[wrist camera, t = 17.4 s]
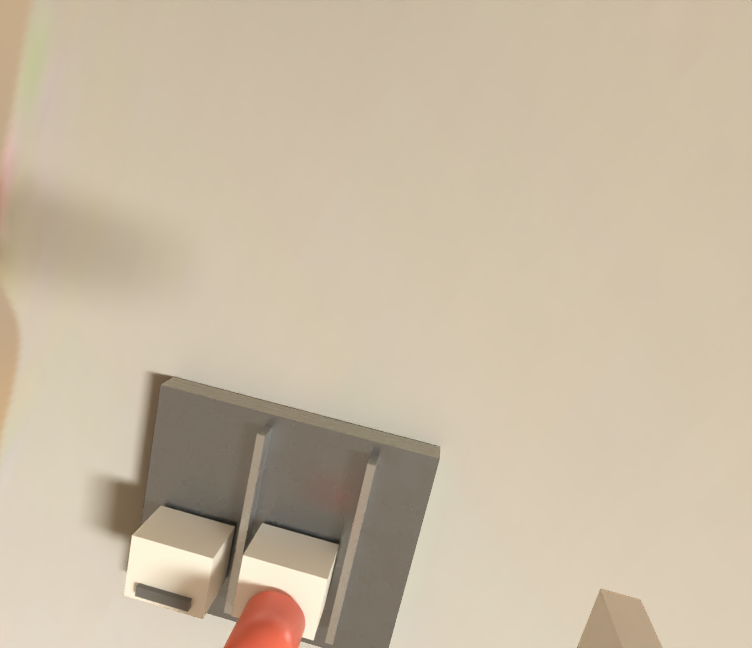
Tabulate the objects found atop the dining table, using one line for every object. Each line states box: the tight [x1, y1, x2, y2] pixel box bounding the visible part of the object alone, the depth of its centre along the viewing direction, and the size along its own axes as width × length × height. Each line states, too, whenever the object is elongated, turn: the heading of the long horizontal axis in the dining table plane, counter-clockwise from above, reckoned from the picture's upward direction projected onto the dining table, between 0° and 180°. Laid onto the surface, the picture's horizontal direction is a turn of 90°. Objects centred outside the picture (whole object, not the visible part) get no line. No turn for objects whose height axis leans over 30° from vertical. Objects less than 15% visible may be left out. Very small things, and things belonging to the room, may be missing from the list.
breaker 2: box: [232, 523, 339, 640], centre depth 40 cm, size 5×6×4 cm
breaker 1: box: [124, 506, 235, 619], centre depth 41 cm, size 5×6×4 cm
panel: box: [141, 377, 440, 648], centre depth 42 cm, size 18×21×4 cm
